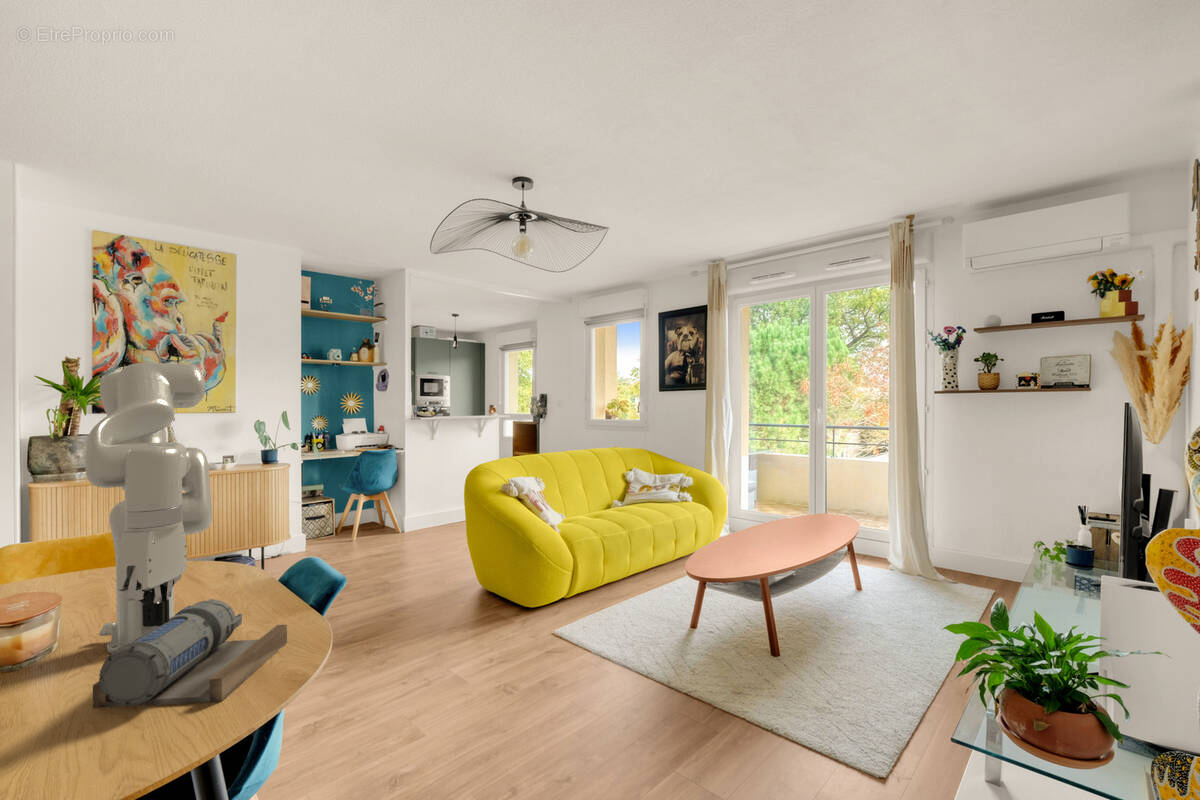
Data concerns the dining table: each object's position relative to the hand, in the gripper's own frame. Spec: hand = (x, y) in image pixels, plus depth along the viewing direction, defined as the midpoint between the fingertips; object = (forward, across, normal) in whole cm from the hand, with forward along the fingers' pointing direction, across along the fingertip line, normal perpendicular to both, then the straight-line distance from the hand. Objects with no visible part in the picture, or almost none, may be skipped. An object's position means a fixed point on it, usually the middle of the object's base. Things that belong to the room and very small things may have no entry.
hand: (156, 624), depth 91 cm
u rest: (+14, -11, 0) cm, 18 cm away
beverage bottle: (+8, +3, -4) cm, 9 cm away
